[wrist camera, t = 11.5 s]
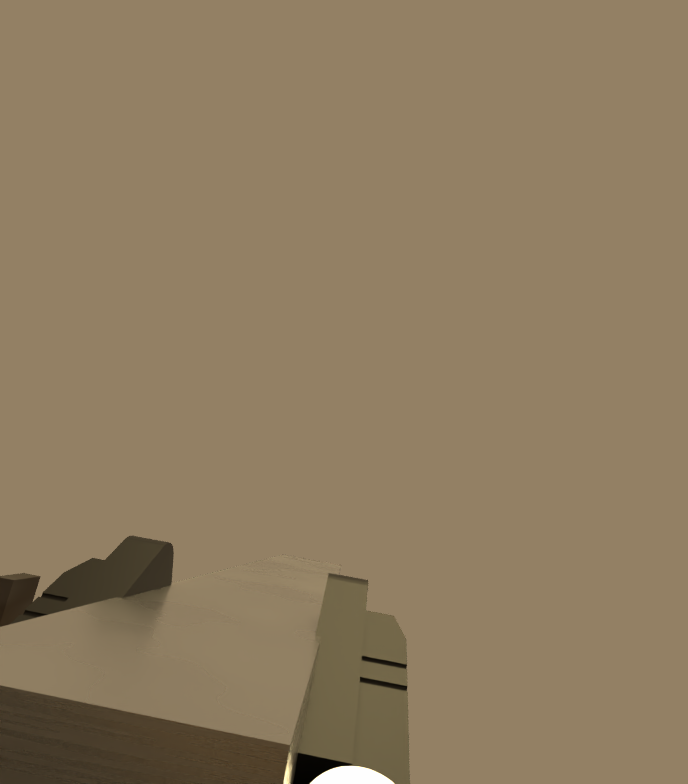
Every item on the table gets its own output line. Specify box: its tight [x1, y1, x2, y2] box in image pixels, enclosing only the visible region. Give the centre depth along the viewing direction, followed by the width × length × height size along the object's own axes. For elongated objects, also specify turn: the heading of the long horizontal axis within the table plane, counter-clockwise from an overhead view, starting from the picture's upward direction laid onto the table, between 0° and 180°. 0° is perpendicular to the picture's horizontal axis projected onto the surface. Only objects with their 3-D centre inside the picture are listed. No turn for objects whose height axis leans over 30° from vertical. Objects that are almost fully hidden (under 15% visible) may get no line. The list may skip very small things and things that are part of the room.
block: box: [0, 555, 341, 784], centre depth 15 cm, size 24×3×3 cm, turn 179°
